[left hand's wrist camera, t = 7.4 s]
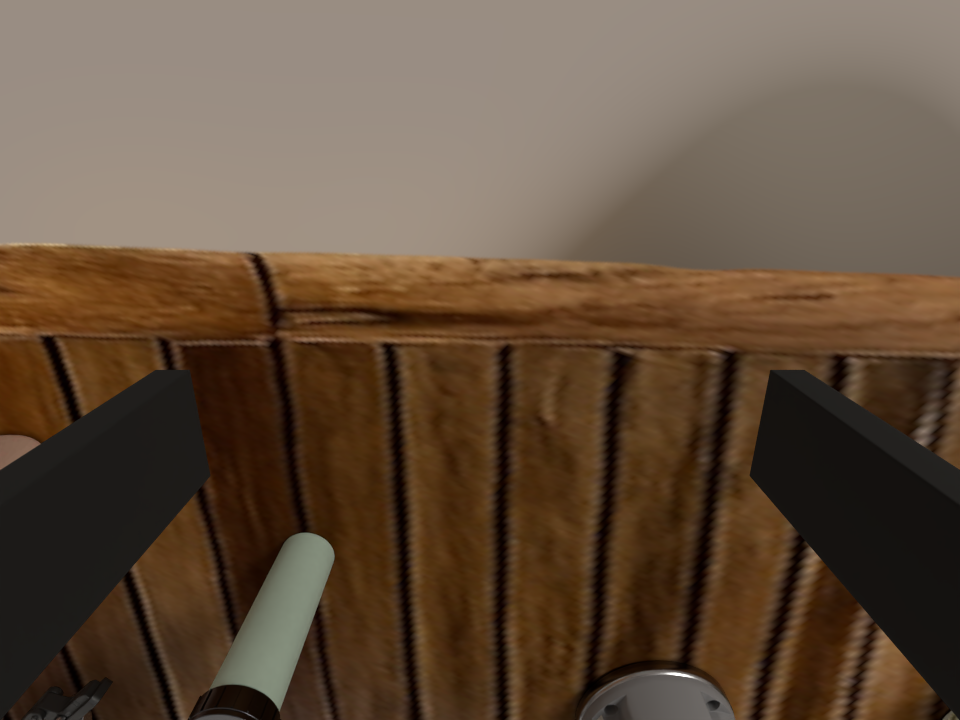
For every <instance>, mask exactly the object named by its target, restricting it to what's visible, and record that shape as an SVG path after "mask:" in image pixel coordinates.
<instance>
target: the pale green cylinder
mask: <svg viewBox="0 0 960 720" xmlns="http://www.w3.org/2000/svg"><path fill="white" fill-rule="evenodd" d="M333 562H334V551H333V548H332V547H331V545H330V544H329V543H328V541H326V540H325V539H324V538H322V537H320V536H318V535H316V534H312V533H299V534H295V535H293V536H291V537H289V538H288V539H287V540H286V541H285V542H284V544H283V546H282V548H281V550H280V552H279V554H278V556H277V558H276V560H275V562H274V564H273V566H272V568H271V570H270V572H269V574H268V575H267V577H266V579H265V581H264V583H263V585H262V587H261V589H260V591H259V593H258V595H257V597H256V599H255V601H254V603H253V605H252V607H251V609H250V611H249V613H248V615H247V617H246V619H245V621H244V623H243V625H242V627H241V628H240V630H239V632H238V634H237V636H236V638H235V640H234V642H233V644H232V646H231V648H230V650H229V652H228V654H227V656H226V658H225V660H224V662H223V664H222V666H221V668H220V670H219V672H218V674H217V676H216V678H215V680H214V681H213V683H212V685H211V687H210V689H212V688H215V687H218V686H221V685H231V684H234V685H244V686H248V687H251V688H254V689H256V690H258V691H260V692H262V693H264V694H265V695H267V696H268V697H269V698H270V699H271V700H272V701H273V702H274V703H275V705H276V706H277V708H278V709H279V711H280V708H281V705H282V703H283V700H284V697H285V694H286V692H287V689H288V686H289V683H290V681H291V678H292V675H293V672H294V670H295V667H296V664H297V661H298V659H299V656H300V653H301V650H302V647H303V645H304V642H305V639H306V636H307V634H308V631H309V628H310V625H311V623H312V620H313V617H314V614H315V612H316V609H317V606H318V603H319V601H320V598H321V595H322V592H323V590H324V587H325V584H326V581H327V579H328V576H329V573H330V570H331V568H332V565H333ZM210 689H209V690H210Z"/></svg>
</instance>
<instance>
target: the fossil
mask: <svg viewBox="0 0 960 720" xmlns="http://www.w3.org/2000/svg"><path fill="white" fill-rule="evenodd" d="M943 720H959V719H958V718H957V717H956V715H955V714H954V713H953V712H952V711H950V712H949V713H948V714H947V715H946V716H945V717H944V719H943Z"/></svg>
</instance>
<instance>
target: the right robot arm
mask: <svg viewBox="0 0 960 720" xmlns="http://www.w3.org/2000/svg"><path fill="white" fill-rule="evenodd" d="M112 682H113V681H111V680H109V679H108V678H106V677H105V678H104V679H103V680H102V681H101V682H99V681H97V680H93V681H90V682H89V683H88V684H87V685H86V686H85V687H84V688H82V689H81V690H80V691H79V692H78V693H77V694H74V695H72V696H71V697H66V696H62V695H63V691H62V689H60V688H59V687H55V686H53V687H50V688H49V689H48V690H47V692H46V693H45V694H44V695H43V696H42V697H41V698H40V699H39V700H38V701H37V703H36V704H35V705H34V706H33V707H32V708H31V709H30V710H29V711H28V712H27V714H26V715H25V716H24V717H23V718H22V719H21V720H92V713H91V711H90V710H91V709H92V708H93V707H95V706H96V704H97V703H98V702H99V701H100V700H101V698H102V697H103V695H104V694H105V693H106V691H107V690H108V688H109V687H110V685H111V684H112Z"/></svg>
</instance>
